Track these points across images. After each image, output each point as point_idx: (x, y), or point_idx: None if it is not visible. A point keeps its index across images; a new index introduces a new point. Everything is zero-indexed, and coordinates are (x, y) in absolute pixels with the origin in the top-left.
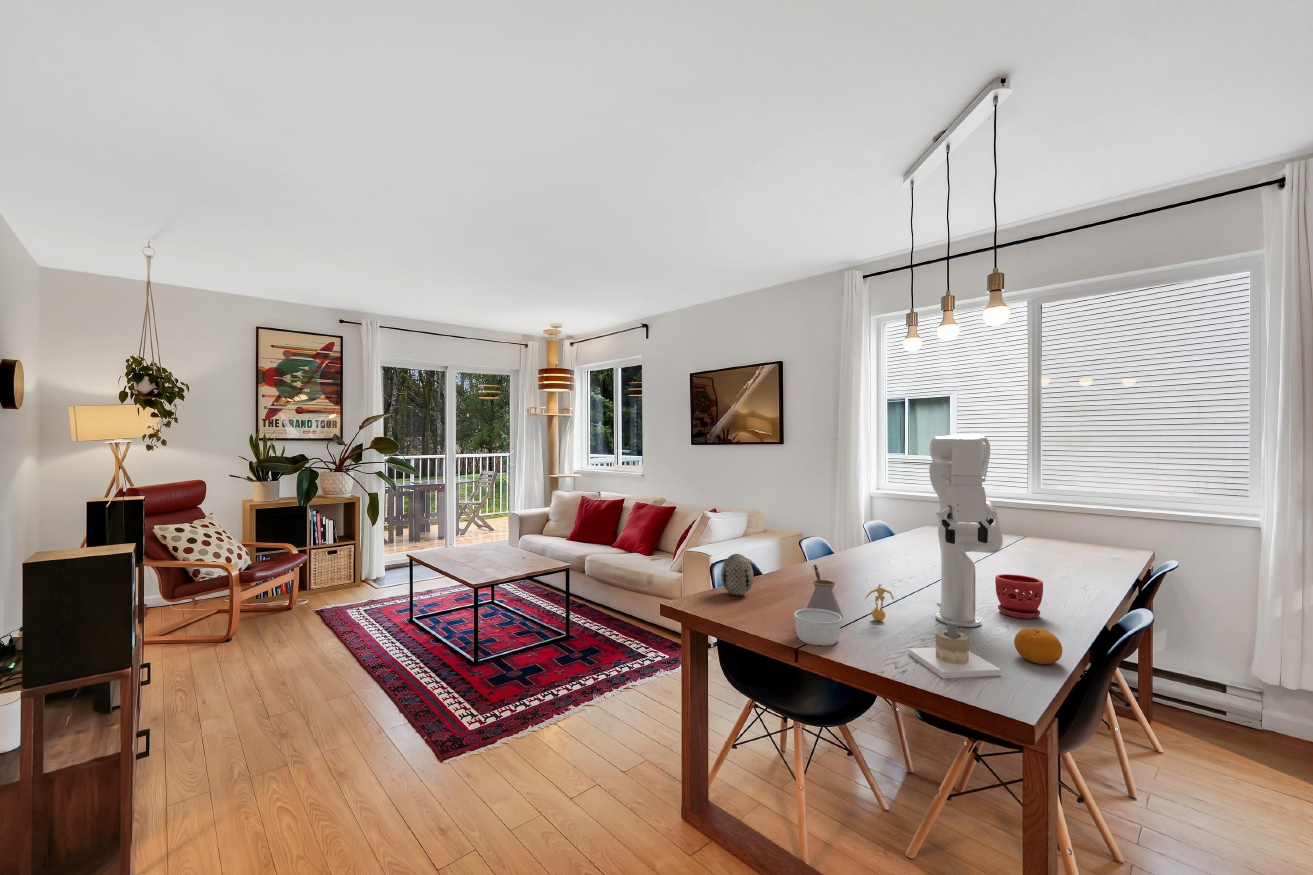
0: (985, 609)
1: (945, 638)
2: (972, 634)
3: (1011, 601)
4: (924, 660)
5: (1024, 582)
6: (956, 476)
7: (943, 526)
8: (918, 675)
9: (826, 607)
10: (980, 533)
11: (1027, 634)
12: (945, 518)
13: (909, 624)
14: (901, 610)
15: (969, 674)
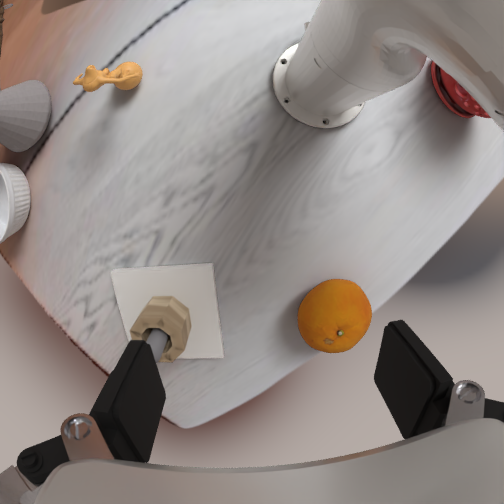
0: None
1: None
2: (299, 168)
3: (453, 90)
4: (121, 316)
5: None
6: None
7: (66, 425)
8: (107, 339)
9: (4, 143)
10: (404, 382)
11: (317, 334)
12: (58, 466)
13: (189, 99)
14: (224, 12)
15: None
